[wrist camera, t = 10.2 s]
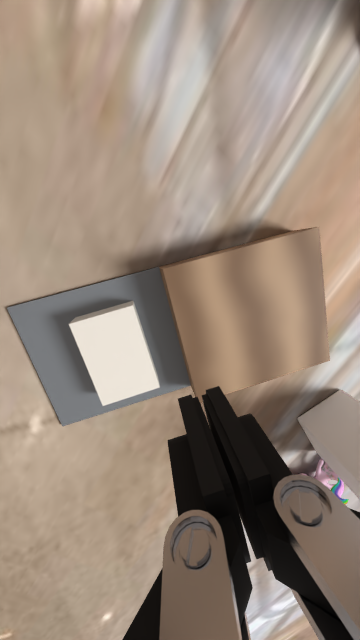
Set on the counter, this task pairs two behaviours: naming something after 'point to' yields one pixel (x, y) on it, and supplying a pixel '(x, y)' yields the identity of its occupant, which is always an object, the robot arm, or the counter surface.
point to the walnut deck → (250, 311)
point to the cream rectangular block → (115, 352)
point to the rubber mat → (65, 357)
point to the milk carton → (337, 436)
